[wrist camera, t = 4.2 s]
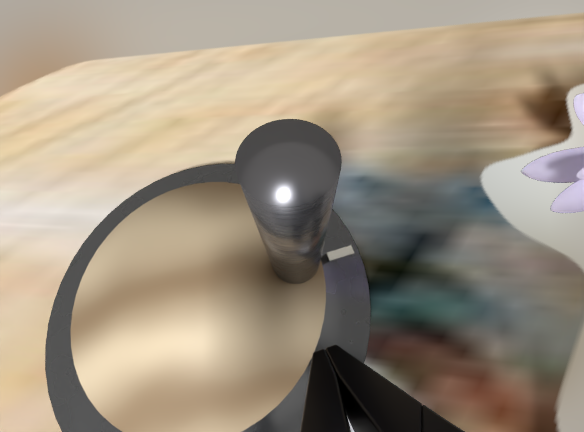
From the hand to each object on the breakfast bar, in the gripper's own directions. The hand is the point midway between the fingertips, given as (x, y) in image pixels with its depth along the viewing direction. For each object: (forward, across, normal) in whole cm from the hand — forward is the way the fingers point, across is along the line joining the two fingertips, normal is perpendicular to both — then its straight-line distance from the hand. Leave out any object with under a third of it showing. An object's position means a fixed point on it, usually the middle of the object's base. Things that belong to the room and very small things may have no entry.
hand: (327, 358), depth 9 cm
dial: (+9, -6, -2) cm, 11 cm away
